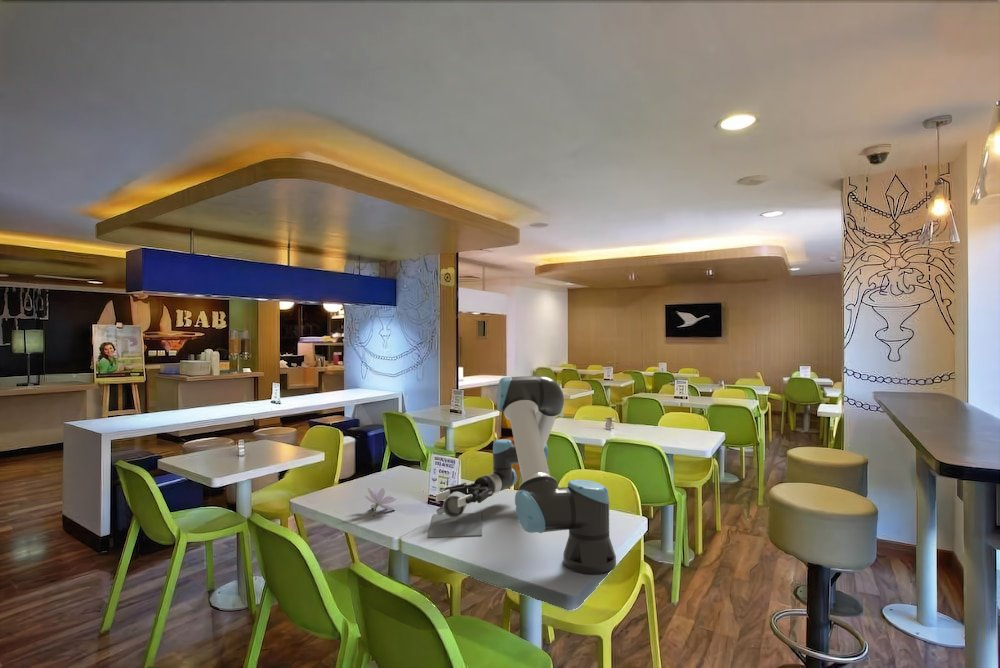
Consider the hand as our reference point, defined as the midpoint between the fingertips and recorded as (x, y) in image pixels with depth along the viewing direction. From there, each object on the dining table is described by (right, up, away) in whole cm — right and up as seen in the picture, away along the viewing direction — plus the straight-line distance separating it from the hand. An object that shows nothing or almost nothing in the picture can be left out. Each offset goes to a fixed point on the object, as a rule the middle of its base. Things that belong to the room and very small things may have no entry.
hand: (447, 500), depth 176 cm
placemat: (+3, -10, +3) cm, 11 cm away
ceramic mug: (+1, -6, +4) cm, 7 cm away
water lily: (-27, -11, +18) cm, 34 cm away
